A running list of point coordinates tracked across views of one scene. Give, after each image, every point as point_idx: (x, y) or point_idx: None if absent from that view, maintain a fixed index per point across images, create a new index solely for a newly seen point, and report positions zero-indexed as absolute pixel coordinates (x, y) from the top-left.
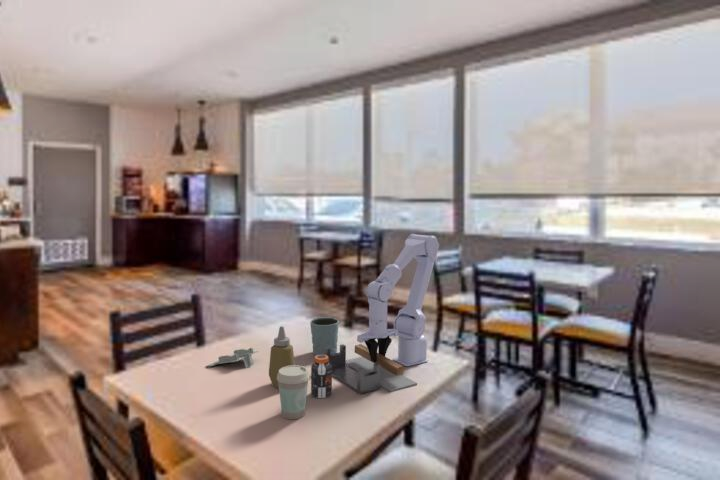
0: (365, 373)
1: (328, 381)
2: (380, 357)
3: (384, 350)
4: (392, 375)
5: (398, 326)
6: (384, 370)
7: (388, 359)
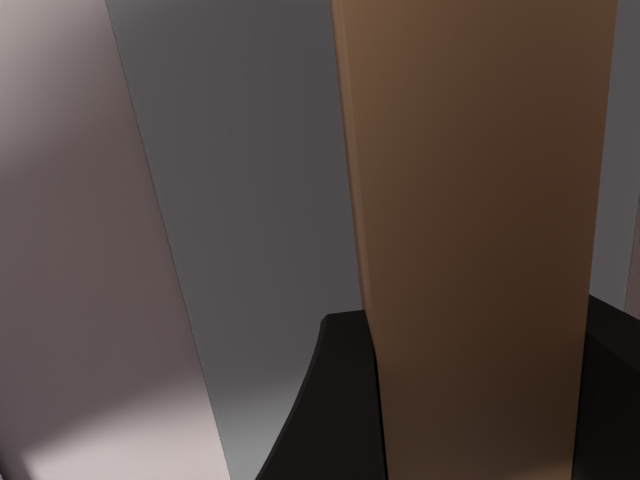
0: (602, 245)
1: None
2: (518, 281)
3: (374, 458)
4: (270, 2)
5: None
6: (294, 241)
7: (404, 40)
